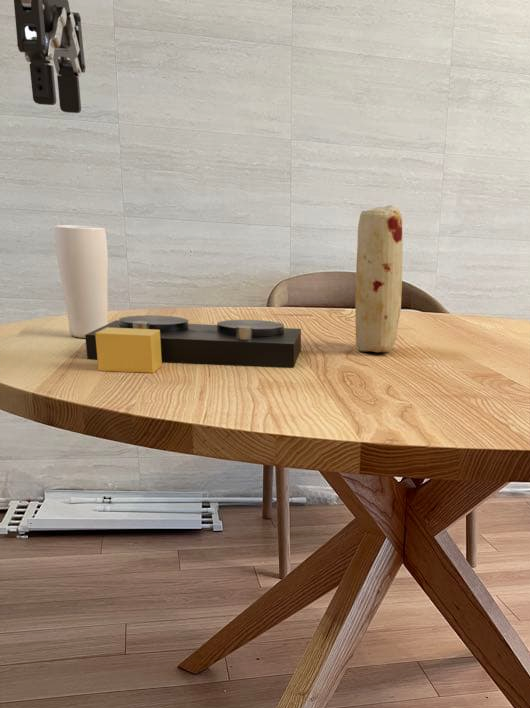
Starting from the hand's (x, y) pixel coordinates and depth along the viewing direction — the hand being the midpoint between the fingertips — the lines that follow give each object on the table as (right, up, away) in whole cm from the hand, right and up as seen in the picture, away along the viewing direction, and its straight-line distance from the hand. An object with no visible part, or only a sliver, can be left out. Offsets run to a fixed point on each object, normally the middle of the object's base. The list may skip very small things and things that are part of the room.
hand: (58, 108), depth 92 cm
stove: (+11, -23, +20) cm, 32 cm away
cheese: (+5, -27, +8) cm, 29 cm away
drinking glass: (-7, -18, +29) cm, 35 cm away
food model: (+35, -20, +30) cm, 50 cm away
